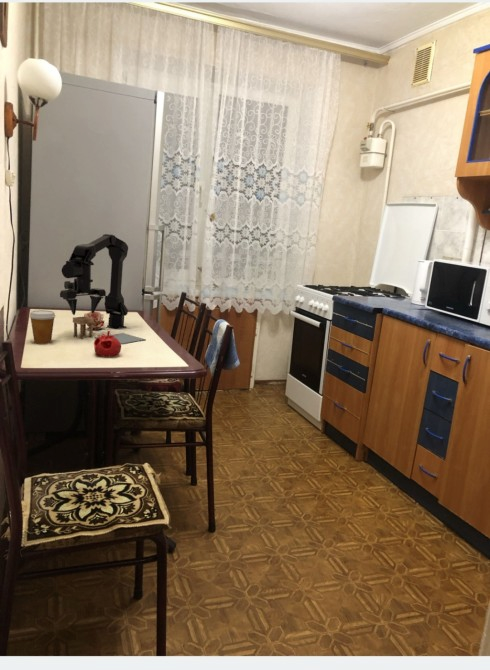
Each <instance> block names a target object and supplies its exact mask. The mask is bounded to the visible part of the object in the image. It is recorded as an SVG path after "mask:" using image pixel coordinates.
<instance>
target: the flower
mask: <svg viewBox="0 0 490 670" xmlns="http://www.w3.org/2000/svg"><path fill="white" fill-rule="evenodd" d="M84 316H85V317H89V318H93V319H94V323H93V324H92V330H93V329H96V330H99V329H100V328H103V327H104V326H105V320H104V314H102V312H100V311H96V310H95V311H94V313H92V312H91V311H89V312H86V313H84V314H83V317H84ZM86 327H88V328H89V324H86Z"/></svg>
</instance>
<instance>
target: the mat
mask: <svg viewBox="0 0 490 670" xmlns="http://www.w3.org/2000/svg"><path fill="white" fill-rule="evenodd" d="M105 335H106V336H107V334H105ZM109 335H110V336H111V335H114V338H116V339H118V341H119V342H120V343H121V345H127V344H131V343H132V344H133V343H138V342H144V341H146V339H145V338H143V337H139V336H135V335H132V334H129V333H125V332H119V333H113V334H109ZM98 337H100V336H99V335H98V336H94V339H95V340H96V339H97V338H98Z"/></svg>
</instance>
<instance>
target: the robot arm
mask: <svg viewBox="0 0 490 670" xmlns="http://www.w3.org/2000/svg"><path fill="white" fill-rule="evenodd" d="M105 248H106V249H107V250H108V256H109V258H110V259H111V268H110V269H111V270H110V286H109V292H108V294H107V293H106V290H105V289H103V288H100V287H96V288H95V287H94V288H93V287H92V284H91V283H93V281H94V280H93V279H92V266H94V265H95V263H94V262H93V261H92V260H93V259H94V258H95V257H96V256H97V253H98V252H100V251H102V250H103V249H105ZM128 251H129V245H128V244H127V243H126V241H124V240H122V239H120V238H118V237H116V235H114V234H111V233H109V234H107V233H105V234H102V236H99V237H98V238H96V239H95V240H93V241H91V242H89V243H83V244H78V245H75V247H74V248H73V251H72V253H71V255H70V257H69V260H66V261H65V264H63V266H62V267H61V273H62V276H63V277H64V278H65V279H73V282H71V281H70V280H66V281H64V283H63V286H64V289H63V290H60V293H59V298H62V299H63V300H65V301H66V302H67V304H68V306H69V309H70V310H71V311H70V312H71V314H72V315H73V316H75V315H76V312H77V305H78V304H77V303H78V299H77V297H80V296H89V298H90V300H91V301H90V304H91V305H90V306H91V307H90V310H91V311H90V312H92V313H94V311H96V310H97V307H98V306H99V303H100V302H101V300H102V299H103V298H104V303H103V304H104V309H105V313H106V315H109V316H108V323H107V324H108V325H106V327H108V328H111V329H115V330H116V329H124V328H127V326H126V325H125V316H127V315H128V314H129V313H128V312H129V309H128V308H127V306H126V304H125V298H124V296H123V295H122V283H123V269H124V268H123V267H124V260H126V258H127V256H128ZM91 287H92V288H91Z"/></svg>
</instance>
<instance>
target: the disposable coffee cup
mask: <svg viewBox="0 0 490 670" xmlns="http://www.w3.org/2000/svg"><path fill="white" fill-rule="evenodd" d="M29 318H30V323H31V328H32V329H31V330H32V335H33V336H32V337H33V342H34V343H35V344H39V345H45V344H50V343H51V342H52V338H53V330H54V322H55V318H56V314H55V311H53V310H47V309H46V310H45V309H43V310H42V309H39V310H37V309H36V310H32V311H30V313H29Z"/></svg>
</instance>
